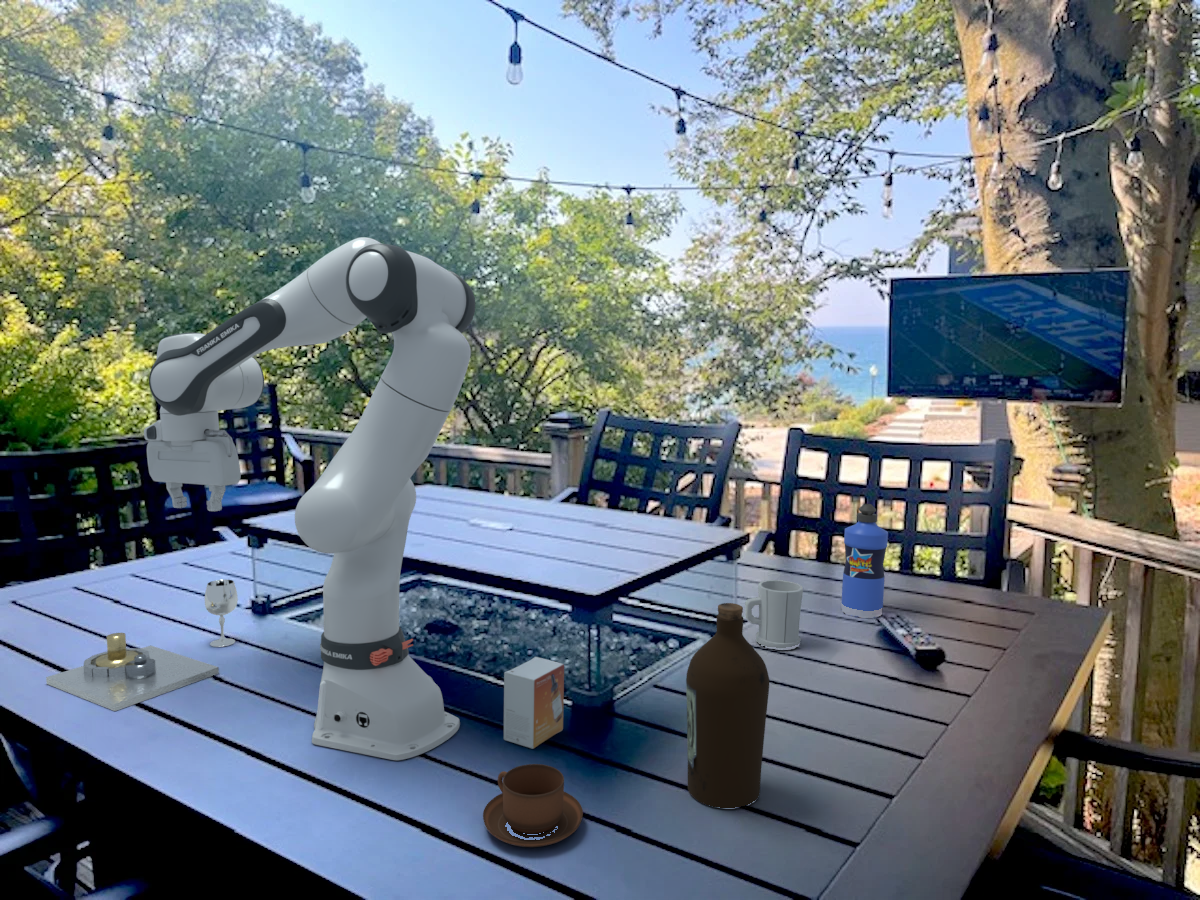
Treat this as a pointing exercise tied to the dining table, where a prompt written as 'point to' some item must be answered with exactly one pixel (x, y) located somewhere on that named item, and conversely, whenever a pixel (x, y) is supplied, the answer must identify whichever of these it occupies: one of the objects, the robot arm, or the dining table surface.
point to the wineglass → (221, 605)
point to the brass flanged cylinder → (116, 652)
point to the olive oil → (726, 715)
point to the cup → (777, 613)
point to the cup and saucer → (532, 807)
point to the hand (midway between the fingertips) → (197, 509)
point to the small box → (533, 702)
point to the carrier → (132, 677)
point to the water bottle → (864, 562)
